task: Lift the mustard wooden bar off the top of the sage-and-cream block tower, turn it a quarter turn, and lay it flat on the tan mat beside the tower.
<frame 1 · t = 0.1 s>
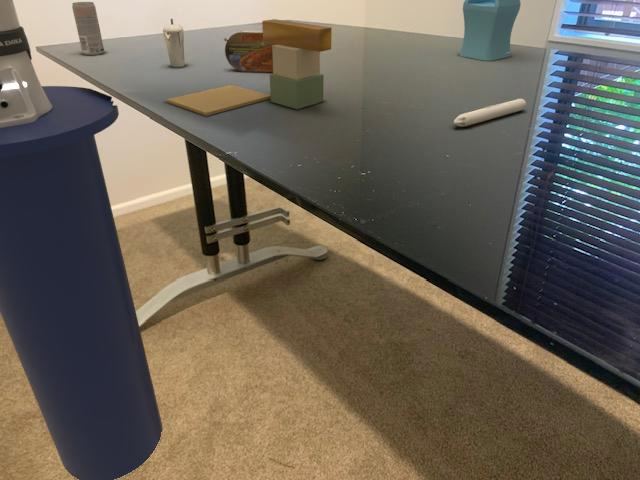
tin: (260, 71, 116), on the table
energy drink: (93, 54, 132), on the table
marker: (487, 120, 86), on the table
tower: (297, 101, 94), on the table
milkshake: (178, 66, 120), on the table
bar: (296, 45, 89), point 10 cm above the table, touching tower
mat: (219, 100, 95), on the table
power adapter: (245, 55, 132), on the table
vase: (483, 56, 132), on the table
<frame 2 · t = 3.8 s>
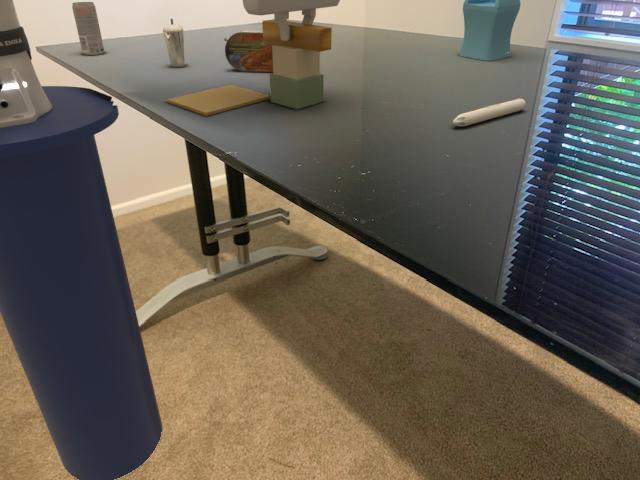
hand: (295, 38, 88), 11 cm above the table, tool pointing down, fingers closed on bar, 3 cm apart
bar: (296, 45, 89), point 10 cm above the table, touching gripper, tower
everything else where it was.
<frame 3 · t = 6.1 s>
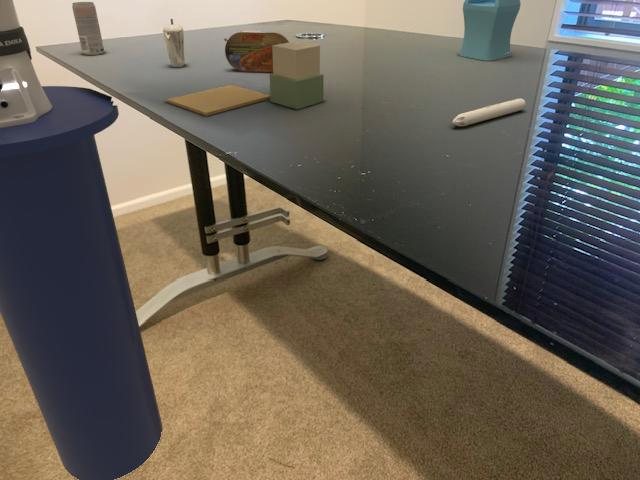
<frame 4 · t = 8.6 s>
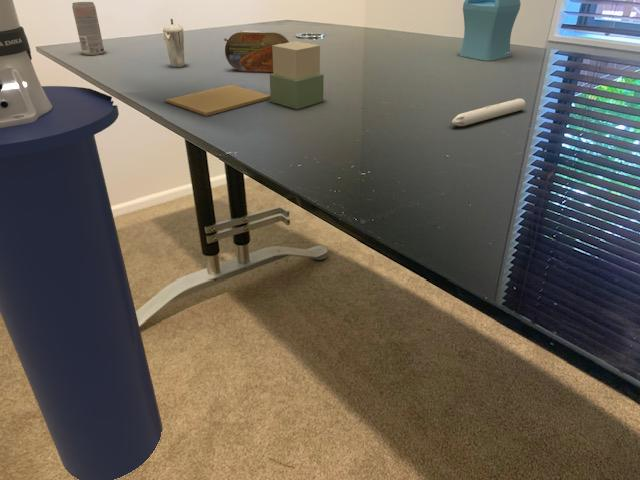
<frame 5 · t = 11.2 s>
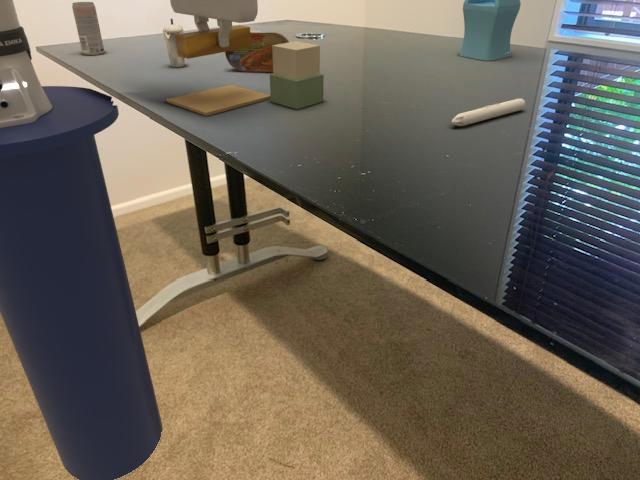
hand: (215, 45, 89), 10 cm above the table, tool pointing down, fingers closed on bar, 3 cm apart
bar: (216, 51, 90), point 9 cm above the table, touching gripper
everything else where it was.
when the fingers open (2 cm above the table, at t = 13.3 s): bar stays where it is, resting on mat.
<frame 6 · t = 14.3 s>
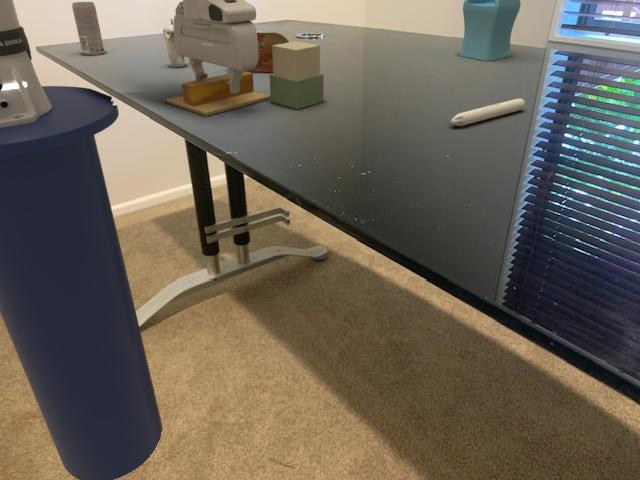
hand: (217, 87, 93), 2 cm above the table, tool pointing down, fingers open, 8 cm apart
bar: (220, 97, 94), point 1 cm above the table, touching mat
everything else where it was.
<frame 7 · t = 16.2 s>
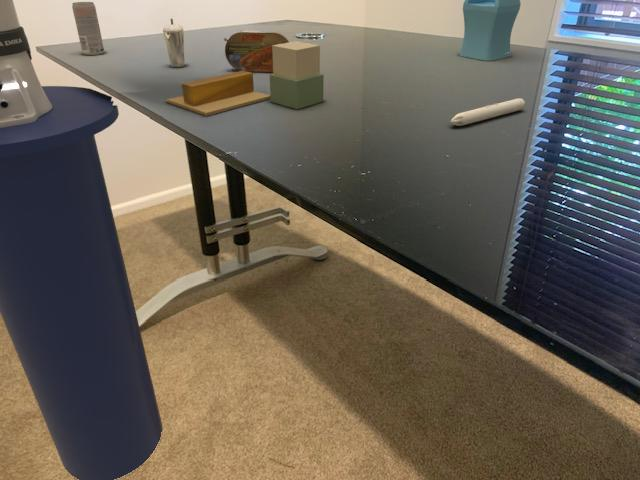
nothing on the table moved.
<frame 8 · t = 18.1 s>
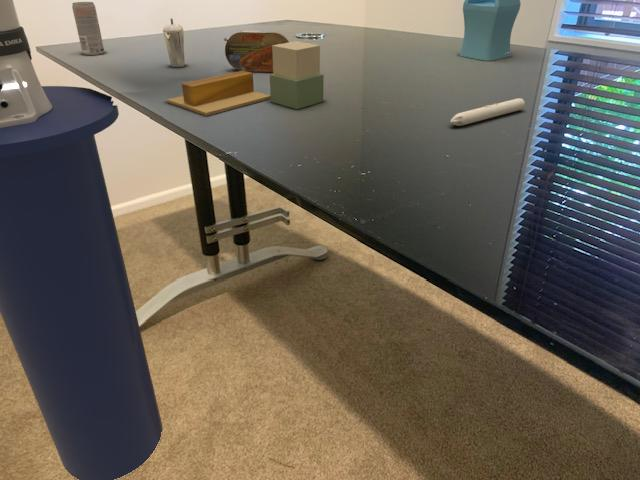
nothing on the table moved.
at the end: bar inside the target area on the mat (0.2 cm from its centre), point 0.6 cm above the mat's base; bar touching mat; bar tilted 0° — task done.
